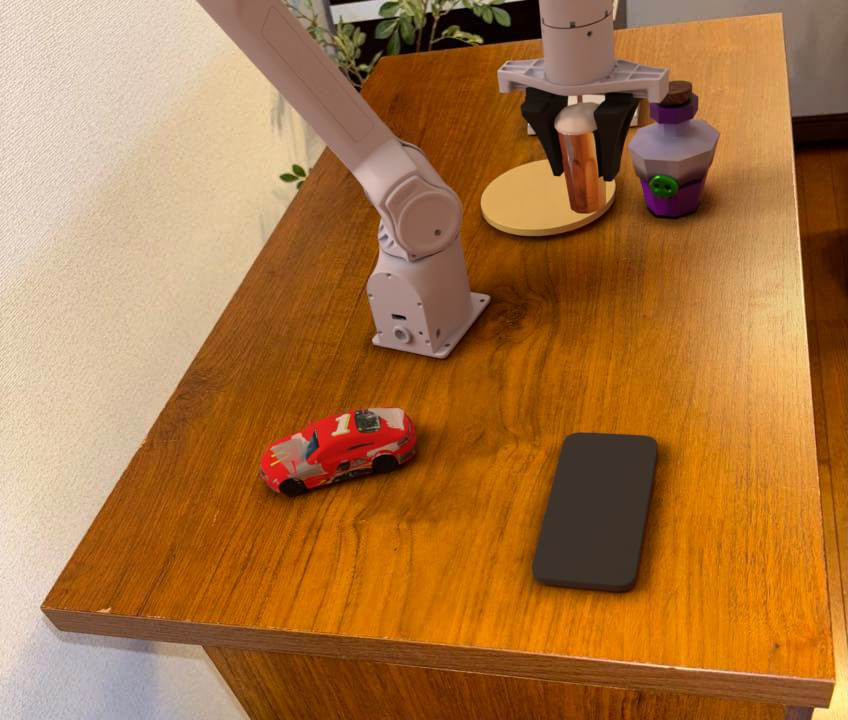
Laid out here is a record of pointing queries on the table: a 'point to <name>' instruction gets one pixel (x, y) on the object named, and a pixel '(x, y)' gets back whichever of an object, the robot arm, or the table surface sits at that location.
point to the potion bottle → (674, 154)
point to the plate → (535, 202)
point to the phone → (596, 512)
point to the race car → (339, 449)
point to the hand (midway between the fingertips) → (586, 173)
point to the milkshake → (581, 156)
